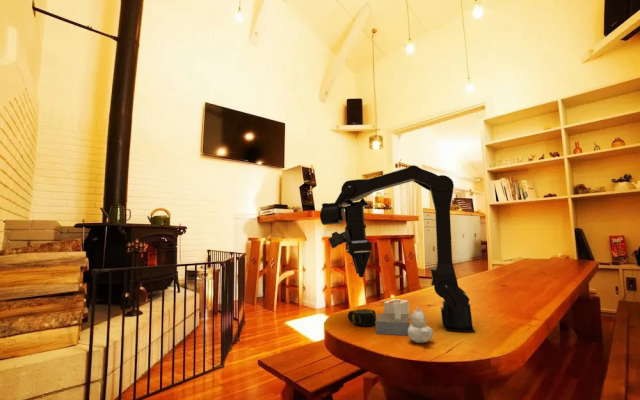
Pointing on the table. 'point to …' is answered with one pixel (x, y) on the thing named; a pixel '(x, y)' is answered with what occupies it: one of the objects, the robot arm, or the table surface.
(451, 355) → the table surface
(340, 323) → the table surface
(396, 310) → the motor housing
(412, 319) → the white rounded figure
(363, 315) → the tape measure
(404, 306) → the cream box
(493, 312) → the table surface
